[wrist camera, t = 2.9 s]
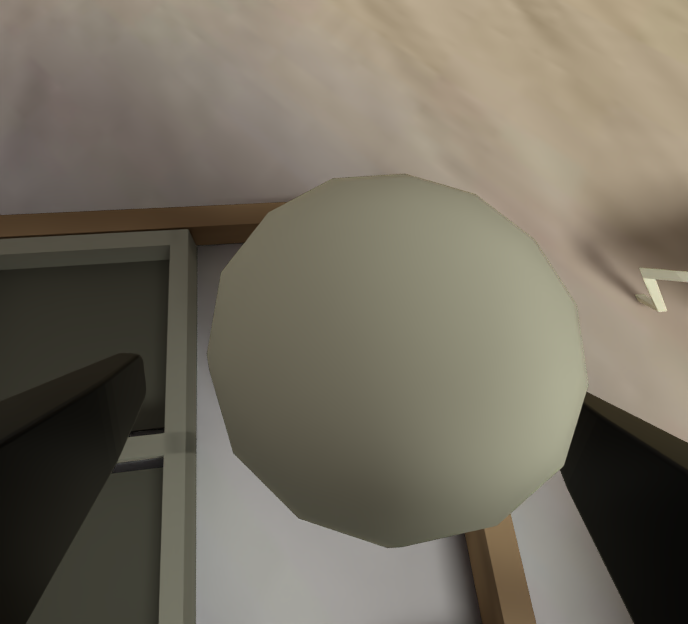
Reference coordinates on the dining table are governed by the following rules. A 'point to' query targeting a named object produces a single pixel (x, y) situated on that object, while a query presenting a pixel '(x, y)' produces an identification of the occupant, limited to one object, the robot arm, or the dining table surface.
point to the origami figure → (652, 287)
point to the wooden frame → (235, 227)
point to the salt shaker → (396, 359)
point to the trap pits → (155, 413)
